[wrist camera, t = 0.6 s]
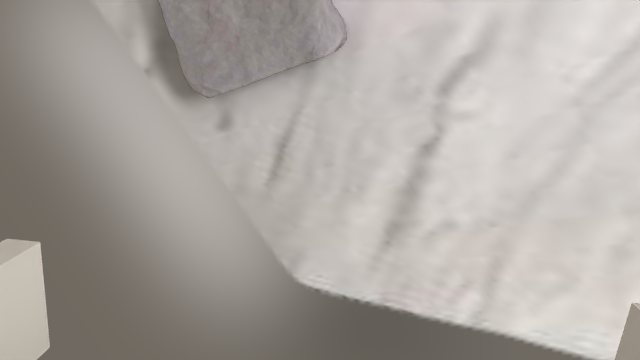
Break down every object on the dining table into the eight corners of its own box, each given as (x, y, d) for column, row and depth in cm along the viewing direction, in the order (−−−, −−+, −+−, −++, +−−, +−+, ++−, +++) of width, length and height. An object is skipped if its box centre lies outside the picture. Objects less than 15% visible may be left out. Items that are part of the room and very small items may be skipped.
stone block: (170, -19, 34) (215, 105, 35) (132, -37, 29) (185, 107, 31) (311, -87, 31) (355, 51, 32) (293, -118, 26) (346, 44, 28)
